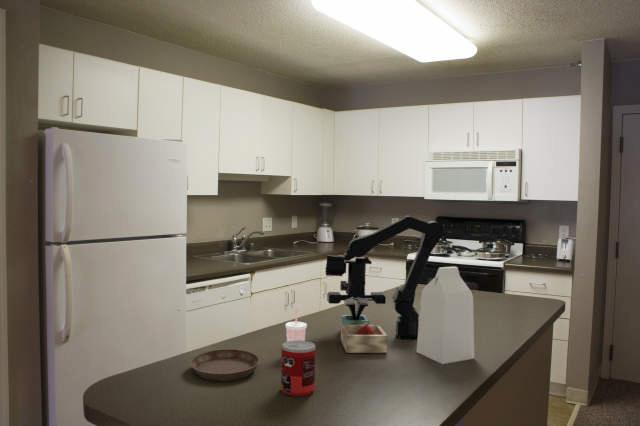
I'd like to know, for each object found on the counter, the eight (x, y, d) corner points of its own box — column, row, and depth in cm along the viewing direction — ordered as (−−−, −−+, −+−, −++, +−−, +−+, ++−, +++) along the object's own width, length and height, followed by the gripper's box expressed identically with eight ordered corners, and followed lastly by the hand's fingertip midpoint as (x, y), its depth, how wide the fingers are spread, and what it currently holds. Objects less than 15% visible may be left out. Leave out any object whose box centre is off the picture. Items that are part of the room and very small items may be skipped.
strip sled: (369, 329, 178) (370, 314, 178) (386, 352, 153) (387, 335, 153) (335, 329, 177) (335, 314, 176) (346, 352, 152) (347, 335, 151)
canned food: (280, 384, 127) (281, 340, 126) (313, 384, 128) (314, 340, 127) (280, 397, 119) (281, 350, 119) (315, 397, 120) (316, 350, 119)
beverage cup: (309, 353, 151) (310, 305, 151) (301, 359, 145) (302, 310, 145) (289, 350, 153) (290, 303, 153) (281, 356, 147) (282, 308, 147)
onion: (372, 353, 153) (373, 326, 152) (353, 351, 154) (354, 324, 154) (376, 347, 158) (377, 321, 158) (358, 345, 160) (359, 319, 160)
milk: (442, 364, 145) (445, 271, 144) (416, 351, 155) (419, 265, 154) (474, 358, 151) (478, 269, 149) (447, 347, 161) (450, 263, 160)
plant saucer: (226, 390, 123) (226, 377, 123) (175, 373, 133) (175, 362, 133) (273, 369, 138) (273, 358, 138) (224, 355, 148) (224, 345, 148)
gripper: (379, 272, 180) (377, 317, 181) (325, 272, 178) (324, 317, 179) (386, 278, 169) (385, 326, 170) (329, 278, 167) (328, 326, 168)
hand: (355, 323), depth 172 cm, fingers closed
